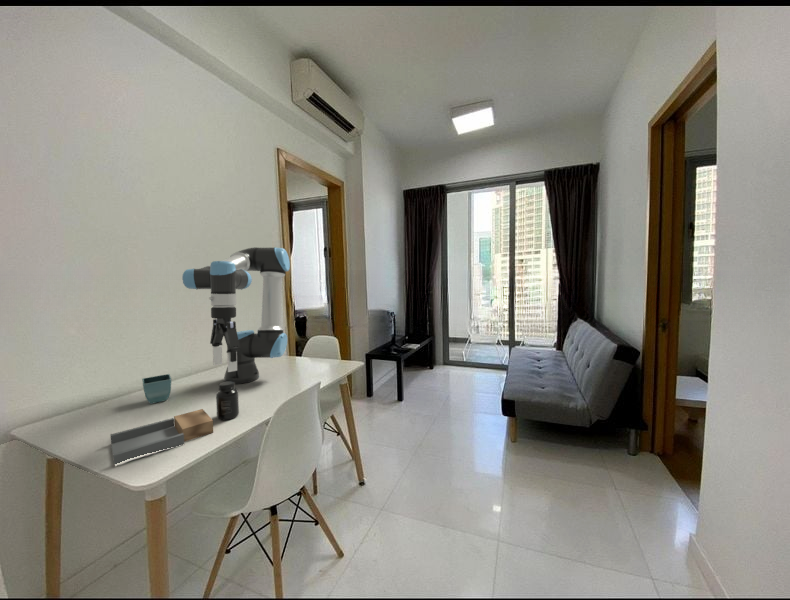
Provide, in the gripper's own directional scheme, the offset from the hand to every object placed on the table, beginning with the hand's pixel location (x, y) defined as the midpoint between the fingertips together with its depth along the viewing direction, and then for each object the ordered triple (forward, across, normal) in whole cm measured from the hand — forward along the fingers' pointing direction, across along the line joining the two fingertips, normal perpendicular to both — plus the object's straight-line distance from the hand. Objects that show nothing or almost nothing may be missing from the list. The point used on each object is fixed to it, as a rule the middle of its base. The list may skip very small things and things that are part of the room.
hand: (224, 367), depth 105 cm
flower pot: (+18, -36, -12) cm, 42 cm away
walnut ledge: (+18, +2, -10) cm, 21 cm away
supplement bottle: (+18, -1, +1) cm, 18 cm away
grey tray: (+18, +1, -22) cm, 28 cm away
